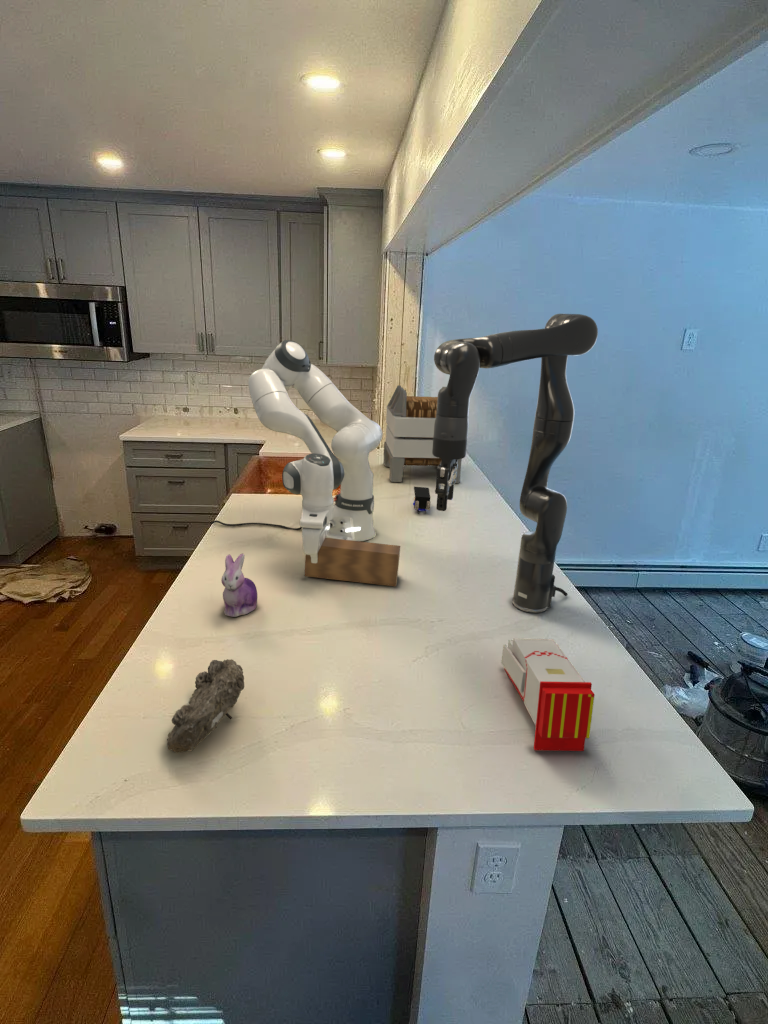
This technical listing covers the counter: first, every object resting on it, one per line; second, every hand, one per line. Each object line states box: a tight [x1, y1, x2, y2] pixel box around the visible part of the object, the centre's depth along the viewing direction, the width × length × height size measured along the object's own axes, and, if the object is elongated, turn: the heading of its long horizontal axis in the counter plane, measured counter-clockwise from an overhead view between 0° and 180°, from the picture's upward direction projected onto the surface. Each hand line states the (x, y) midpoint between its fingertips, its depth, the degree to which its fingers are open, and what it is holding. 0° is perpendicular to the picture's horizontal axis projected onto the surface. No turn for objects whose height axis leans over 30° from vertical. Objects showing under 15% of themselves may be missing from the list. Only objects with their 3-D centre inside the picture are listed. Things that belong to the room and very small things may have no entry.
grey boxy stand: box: [383, 384, 463, 484], centre depth 268 cm, size 34×33×41 cm
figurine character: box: [412, 486, 431, 515], centre depth 224 cm, size 7×8×15 cm
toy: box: [500, 637, 595, 752], centre depth 114 cm, size 12×13×30 cm
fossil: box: [166, 658, 245, 754], centre depth 106 cm, size 22×10×15 cm
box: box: [304, 538, 402, 587], centre depth 164 cm, size 27×6×10 cm, turn 85°
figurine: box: [220, 553, 258, 618], centre depth 144 cm, size 9×10×15 cm
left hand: (317, 556), depth 165 cm, fingers open, 6 cm apart
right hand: (444, 504), depth 131 cm, fingers open, 8 cm apart
